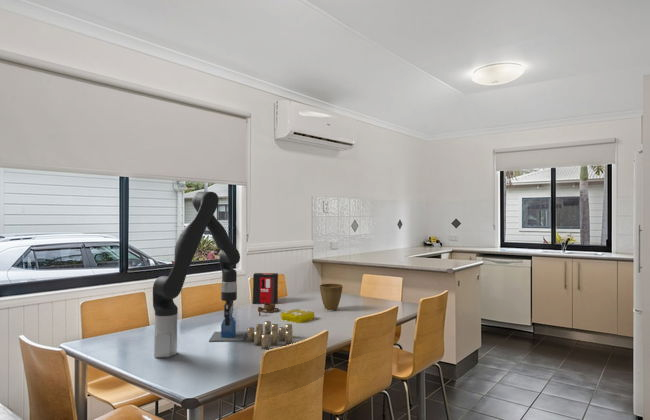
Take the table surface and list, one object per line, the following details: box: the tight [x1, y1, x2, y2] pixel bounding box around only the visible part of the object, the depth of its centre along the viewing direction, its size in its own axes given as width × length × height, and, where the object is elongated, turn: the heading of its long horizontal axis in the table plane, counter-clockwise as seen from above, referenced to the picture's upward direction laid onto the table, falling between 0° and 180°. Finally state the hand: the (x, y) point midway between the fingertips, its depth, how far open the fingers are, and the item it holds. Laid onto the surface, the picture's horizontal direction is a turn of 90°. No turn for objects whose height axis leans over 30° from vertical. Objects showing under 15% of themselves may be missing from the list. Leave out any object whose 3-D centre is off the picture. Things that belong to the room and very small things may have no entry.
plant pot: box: [319, 283, 343, 310], centre depth 278 cm, size 15×15×16 cm
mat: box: [208, 330, 247, 343], centre depth 212 cm, size 16×16×1 cm
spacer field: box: [246, 320, 293, 350], centre depth 207 cm, size 28×22×6 cm
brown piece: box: [257, 303, 280, 317], centre depth 269 cm, size 18×20×6 cm
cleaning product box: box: [252, 272, 279, 305], centre depth 298 cm, size 16×9×20 cm, turn 94°
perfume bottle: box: [220, 313, 237, 338], centre depth 212 cm, size 6×6×12 cm
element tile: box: [280, 308, 315, 324], centre depth 252 cm, size 15×15×5 cm
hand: (228, 323), depth 212 cm, fingers open, 8 cm apart
